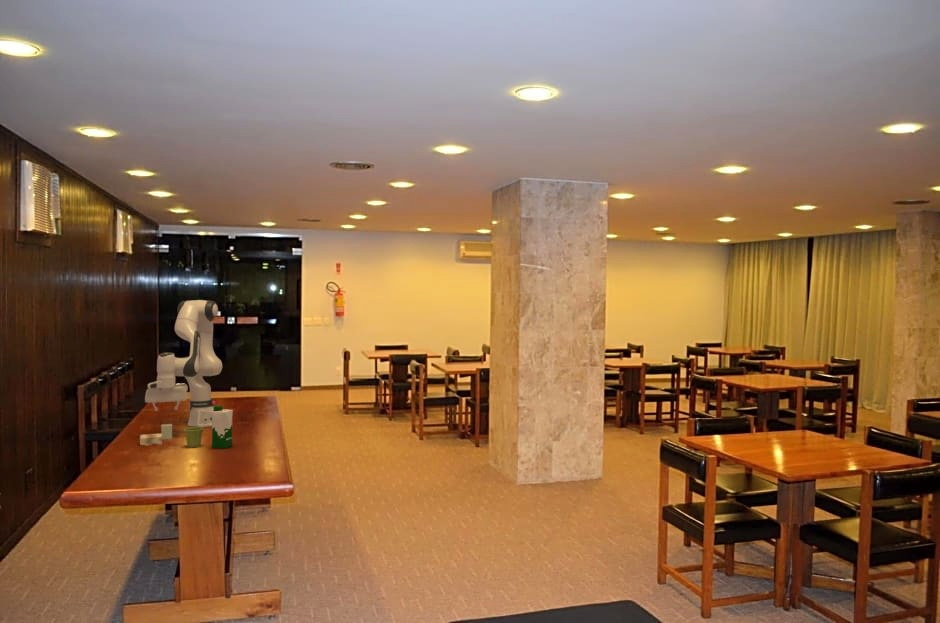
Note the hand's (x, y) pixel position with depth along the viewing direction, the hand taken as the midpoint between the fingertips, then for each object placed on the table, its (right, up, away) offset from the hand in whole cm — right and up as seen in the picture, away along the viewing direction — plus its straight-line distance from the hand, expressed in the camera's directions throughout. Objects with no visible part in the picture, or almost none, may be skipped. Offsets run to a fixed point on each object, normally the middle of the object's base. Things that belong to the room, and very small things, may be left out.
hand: (166, 410), depth 369 cm
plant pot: (+22, -15, -19) cm, 32 cm away
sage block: (0, -15, +1) cm, 15 cm away
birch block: (-3, -15, -11) cm, 19 cm away
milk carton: (+36, -15, -20) cm, 44 cm away
